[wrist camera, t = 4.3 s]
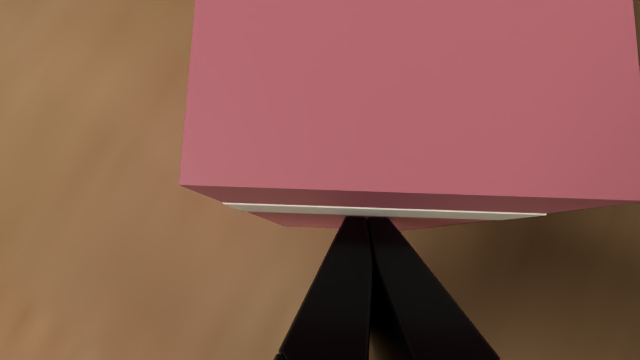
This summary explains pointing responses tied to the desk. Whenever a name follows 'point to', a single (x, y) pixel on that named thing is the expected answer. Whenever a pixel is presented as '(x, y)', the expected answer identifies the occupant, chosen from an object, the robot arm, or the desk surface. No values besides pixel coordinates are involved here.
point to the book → (412, 109)
